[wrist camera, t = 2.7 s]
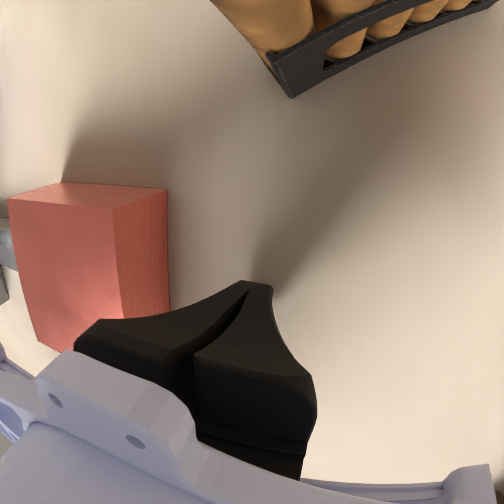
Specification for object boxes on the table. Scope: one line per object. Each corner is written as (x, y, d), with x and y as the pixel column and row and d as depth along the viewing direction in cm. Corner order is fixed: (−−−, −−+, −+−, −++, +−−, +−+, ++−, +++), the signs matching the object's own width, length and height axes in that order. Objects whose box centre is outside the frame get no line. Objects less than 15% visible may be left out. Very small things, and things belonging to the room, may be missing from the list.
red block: (172, 341, 16) (137, 387, 12) (77, 309, 17) (37, 340, 14) (167, 189, 13) (112, 209, 9) (60, 182, 14) (6, 198, 11)
